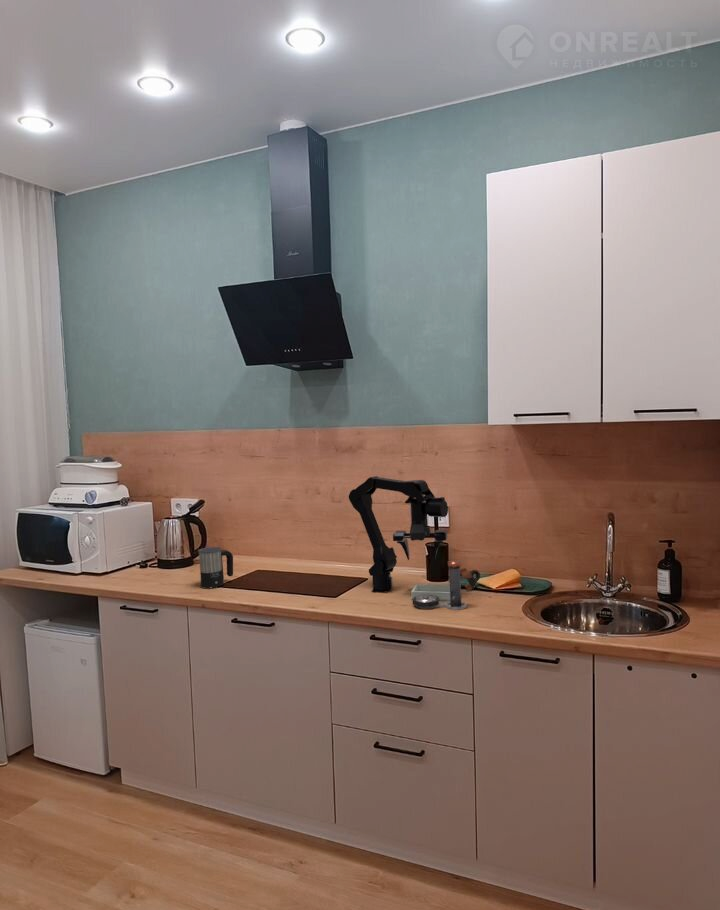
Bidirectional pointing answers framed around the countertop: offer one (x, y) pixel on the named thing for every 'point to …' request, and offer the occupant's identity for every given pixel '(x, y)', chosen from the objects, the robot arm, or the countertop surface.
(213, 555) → the milk frother
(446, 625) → the countertop surface
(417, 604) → the tensioner
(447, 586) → the tray
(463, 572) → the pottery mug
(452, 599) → the pin
